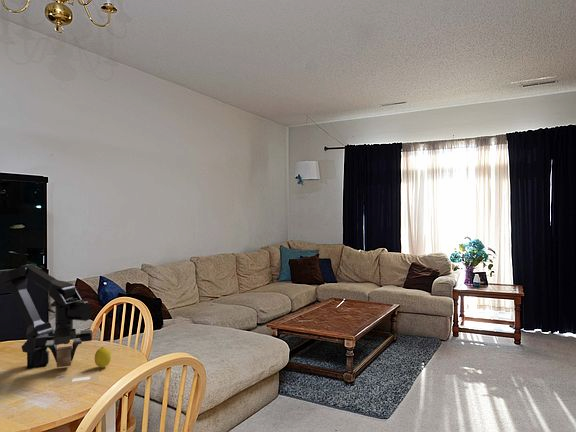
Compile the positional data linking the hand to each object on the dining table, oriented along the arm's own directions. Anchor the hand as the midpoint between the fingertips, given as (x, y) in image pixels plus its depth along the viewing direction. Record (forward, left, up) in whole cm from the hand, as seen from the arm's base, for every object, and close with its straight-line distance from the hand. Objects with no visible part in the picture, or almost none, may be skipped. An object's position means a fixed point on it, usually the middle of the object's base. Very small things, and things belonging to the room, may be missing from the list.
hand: (64, 361), depth 158 cm
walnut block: (0, 0, -1) cm, 1 cm away
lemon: (+13, -4, -3) cm, 14 cm away
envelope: (+5, -12, -3) cm, 13 cm away
